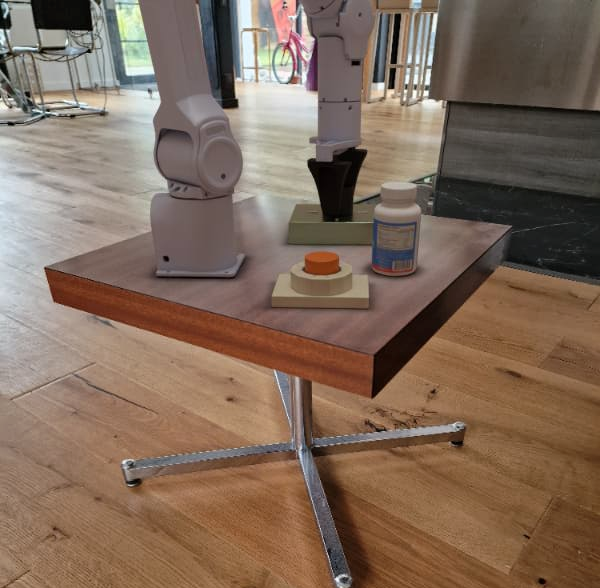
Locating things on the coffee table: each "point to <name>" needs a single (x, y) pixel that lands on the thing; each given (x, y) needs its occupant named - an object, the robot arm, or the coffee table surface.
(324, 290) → the switch block
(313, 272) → the button
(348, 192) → the dial
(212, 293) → the coffee table surface
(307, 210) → the panel
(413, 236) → the pill bottle
